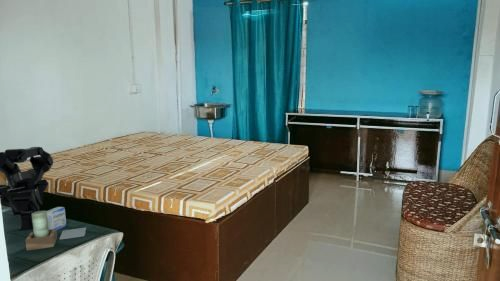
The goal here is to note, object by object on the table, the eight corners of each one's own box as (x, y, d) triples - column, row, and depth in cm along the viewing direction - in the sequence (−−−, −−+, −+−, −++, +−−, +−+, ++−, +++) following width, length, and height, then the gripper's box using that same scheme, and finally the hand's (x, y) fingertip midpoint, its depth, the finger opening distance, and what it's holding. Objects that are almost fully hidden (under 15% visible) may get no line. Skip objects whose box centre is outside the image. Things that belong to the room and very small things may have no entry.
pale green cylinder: (36, 243, 141) (33, 211, 140) (51, 240, 143) (47, 209, 141) (33, 247, 136) (30, 215, 135) (48, 245, 138) (45, 213, 137)
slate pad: (63, 231, 152) (62, 230, 152) (86, 228, 155) (86, 227, 155) (59, 239, 144) (59, 238, 144) (84, 236, 147) (84, 234, 147)
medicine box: (53, 232, 152) (51, 212, 151) (44, 232, 153) (42, 212, 152) (66, 226, 160) (65, 206, 158) (57, 225, 160) (56, 206, 159)
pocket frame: (32, 241, 142) (31, 232, 142) (57, 238, 145) (56, 228, 145) (26, 250, 134) (25, 240, 133) (53, 246, 137) (52, 236, 136)
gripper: (-8, 167, 136) (8, 200, 131) (43, 159, 151) (60, 188, 146) (-14, 186, 141) (1, 218, 136) (36, 176, 157) (52, 205, 151)
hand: (30, 206), depth 142 cm, fingers open, 9 cm apart
